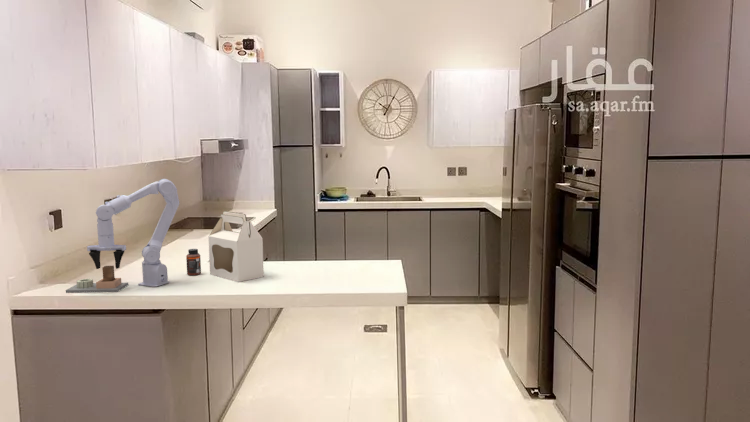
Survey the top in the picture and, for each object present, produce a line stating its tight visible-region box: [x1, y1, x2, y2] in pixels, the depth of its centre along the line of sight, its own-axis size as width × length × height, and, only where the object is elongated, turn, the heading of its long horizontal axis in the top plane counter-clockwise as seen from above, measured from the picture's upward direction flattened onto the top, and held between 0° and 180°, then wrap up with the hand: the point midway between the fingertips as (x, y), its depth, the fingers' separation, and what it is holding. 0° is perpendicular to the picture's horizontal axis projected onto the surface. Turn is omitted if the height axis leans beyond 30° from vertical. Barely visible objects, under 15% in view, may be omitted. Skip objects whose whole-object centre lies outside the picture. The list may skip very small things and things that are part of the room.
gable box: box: [208, 210, 265, 283], centre depth 249 cm, size 22×13×28 cm, turn 48°
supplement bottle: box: [185, 248, 202, 277], centre depth 253 cm, size 6×6×11 cm
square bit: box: [101, 265, 116, 281], centre depth 229 cm, size 3×3×8 cm
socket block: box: [65, 277, 129, 294], centre depth 229 cm, size 20×11×4 cm, turn 92°
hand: (108, 268), depth 229 cm, fingers open, 7 cm apart
